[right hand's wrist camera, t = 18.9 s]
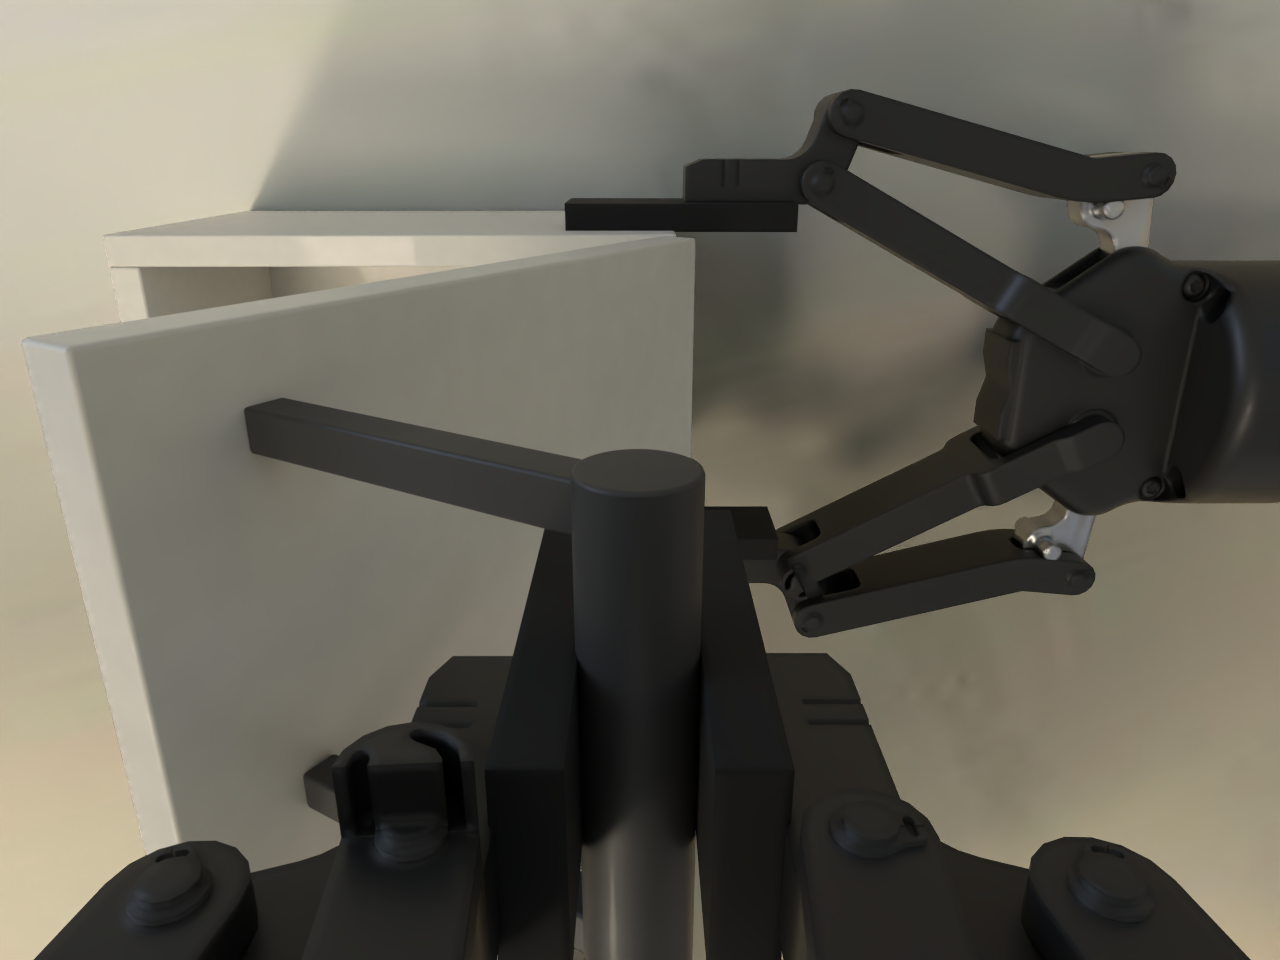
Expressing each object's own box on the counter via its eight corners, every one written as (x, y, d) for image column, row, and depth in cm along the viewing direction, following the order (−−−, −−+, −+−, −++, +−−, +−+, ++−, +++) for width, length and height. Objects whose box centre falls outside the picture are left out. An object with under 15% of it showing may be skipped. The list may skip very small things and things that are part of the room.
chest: (283, 454, 36) (166, 557, 27) (248, 210, 33) (101, 235, 24) (662, 452, 36) (672, 555, 27) (664, 210, 33) (676, 234, 24)
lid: (160, 924, 14) (580, 1223, 10) (15, 338, 11) (552, 444, 7) (657, 560, 27) (932, 631, 23) (659, 235, 24) (981, 253, 20)
